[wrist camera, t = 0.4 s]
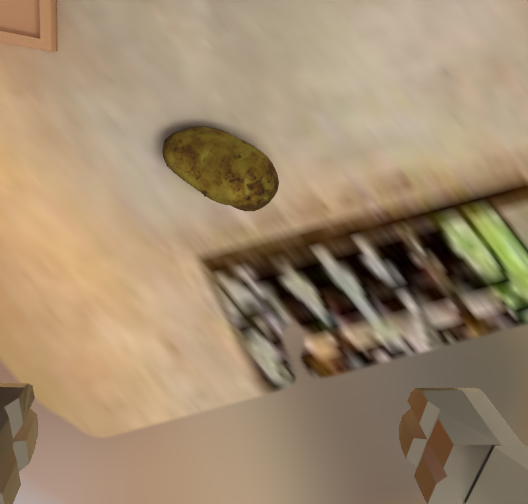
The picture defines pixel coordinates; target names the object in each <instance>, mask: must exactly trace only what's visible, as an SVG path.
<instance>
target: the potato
mask: <svg viewBox="0 0 528 504" xmlns="http://www.w3.org/2000/svg"><path fill="white" fill-rule="evenodd" d="M163 157H164V160H165V162H166V164H167V166H168V167H169V168H170V169H171V170H172V171H173V172H174V173H176V174H177V175H178V176H179V177H180V178H182V179H183V180H184V181H186V182H187V183H188V184H190V185H191V186H193V187H194V188H195V189H197V190H198V191H200V192H201V193H202V194H204V196H207V197H208V198H210V199H211V200H213V201H216V202H218V203H221V204H225V205H230V206H233V207H235V208H237V209H240V210H244V211H256V210H258V209H260V208H262V207H264V206H265V205H267V204H268V203H269V202H270V201H271V199H272V198H273V197H274V196H275V194H276V192H277V190H278V184H279V181H278V175H277V172H276V170H275V168H274V166H273V164H272V163H271V161H270V160H269V158H268V157H267V156H266V155H265V154H264V153H262V152H261V151H260V150H258V149H257V148H255V147H254V146H252V145H250V144H248V143H247V142H245V141H242V140H240V139H238V138H236V137H233V136H232V135H230V134H228V133H226V132H224V131H221V130H217V129H213V128H208V127H194V128H190V129H186V130H183V131H179V132H175V133H173V134H171V135H170V136H169V137H168V138H167V139H166V140H165V143H164V145H163Z"/></svg>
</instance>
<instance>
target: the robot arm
mask: <svg viewBox="0 0 528 504" xmlns="http://www.w3.org/2000/svg"><path fill="white" fill-rule="evenodd" d="M34 398H35V397H34V392H33V386H32V385H30V384H28V383H1V382H0V504H13V502H14V499H15V497H16V495H17V492H18V490H19V488H20V485H21V483H20V477H19V471H21V470H22V469H23V468H24V467H25V466H26V465H28V464H29V463H30V460H31V458H32V455H33V452H34V449H35V444H36V440H37V435H38V419H37V414H36V413H35V412H34V411H33V410H31V409H30V407H31V405H32V403H33V401H34ZM408 403H409V405H410V407H411V409H409V410H408V411H407V412H406V413H405V414H403V416H402V418H401V422H400V425H399V440H400V444H401V448H402V451H403V453H404V455H405V457H406V459H407V460H409V461H410V462H411V463H412V464H413V465H414V466H416V467H417V468H416V472H415V475H414V477H415V479H416V481H417V484H418V486H419V488H420V490H421V492H422V494H423V496H424V499H425V501H426V503H427V504H528V446H523V444H522V443H521V442H520V440H519V439H518V438H517V436H516V435H515V434H514V432H513V431H512V430H511V429H510V427H509V426H508V424H507V423H506V422H505V420H504V419H503V418H502V416H501V415H500V414H499V412H498V411H497V410H496V409H495V407H494V406H493V405H492V403H491V402H490V401H489V399H488V398H487V397H486V395H485V394H484V393H483V392H482V391H481V390H479V389H478V388H456V389H454V388H415V389H414V390H413V391H412V392H411V393H410V396H409V398H408Z"/></svg>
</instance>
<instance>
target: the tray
mask: <svg viewBox="0 0 528 504" xmlns="http://www.w3.org/2000/svg"><path fill="white" fill-rule="evenodd" d="M0 42H3V43H8V44H13V45H19V46H24V47H29V48H35V49H40V50H45V51H51V52H52V51H57V0H0Z"/></svg>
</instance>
